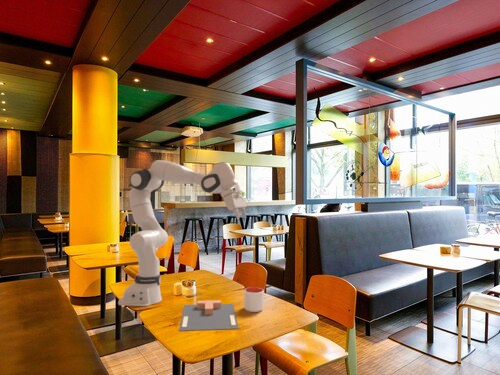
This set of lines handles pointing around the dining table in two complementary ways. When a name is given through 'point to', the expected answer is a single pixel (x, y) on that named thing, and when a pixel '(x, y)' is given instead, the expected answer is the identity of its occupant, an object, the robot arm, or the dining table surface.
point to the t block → (209, 306)
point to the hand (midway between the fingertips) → (241, 217)
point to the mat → (208, 318)
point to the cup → (253, 299)
